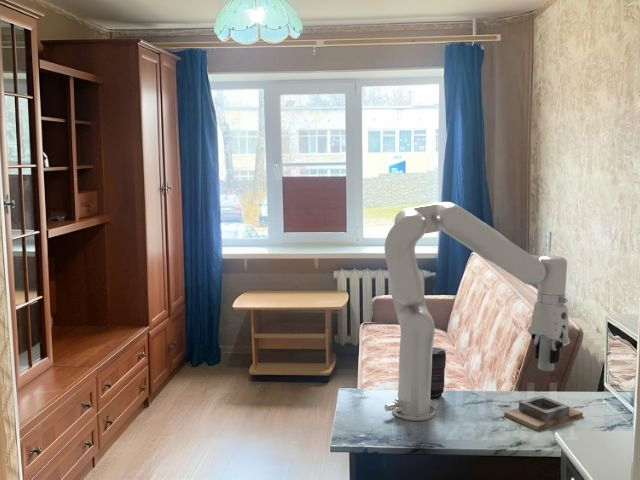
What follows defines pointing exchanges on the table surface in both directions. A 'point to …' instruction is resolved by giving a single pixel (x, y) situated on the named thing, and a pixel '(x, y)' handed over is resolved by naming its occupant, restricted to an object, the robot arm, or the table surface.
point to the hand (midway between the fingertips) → (546, 359)
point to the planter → (545, 354)
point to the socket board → (542, 413)
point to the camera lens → (437, 373)
